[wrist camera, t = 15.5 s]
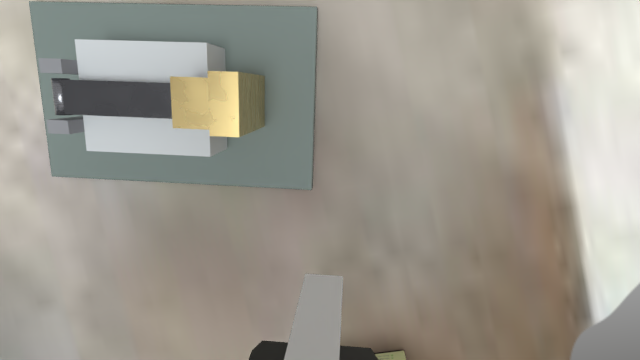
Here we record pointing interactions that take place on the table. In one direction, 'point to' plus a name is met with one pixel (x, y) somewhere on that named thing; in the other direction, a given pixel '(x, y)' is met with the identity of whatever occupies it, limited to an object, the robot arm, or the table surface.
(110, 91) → the strap
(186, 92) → the notched wooden block
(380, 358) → the box
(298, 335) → the robot arm
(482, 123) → the table surface
